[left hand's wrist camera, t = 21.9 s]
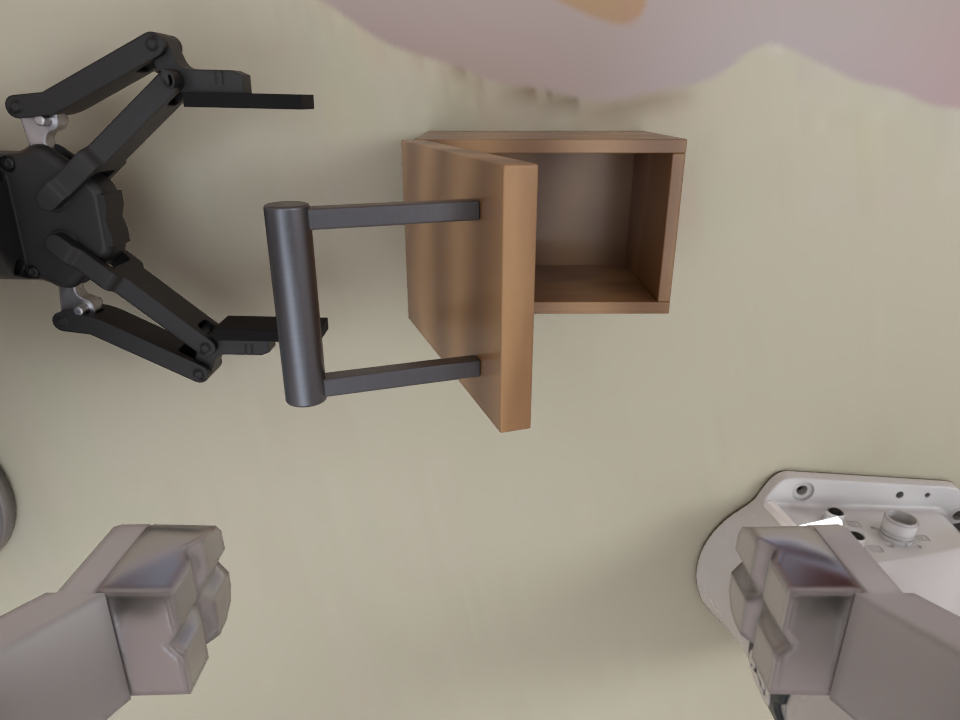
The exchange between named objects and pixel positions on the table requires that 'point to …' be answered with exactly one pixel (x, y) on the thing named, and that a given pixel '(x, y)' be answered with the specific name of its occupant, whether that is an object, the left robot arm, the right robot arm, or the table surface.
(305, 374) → the lid
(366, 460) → the table surface
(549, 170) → the chest
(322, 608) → the table surface
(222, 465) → the table surface
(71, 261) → the right robot arm
